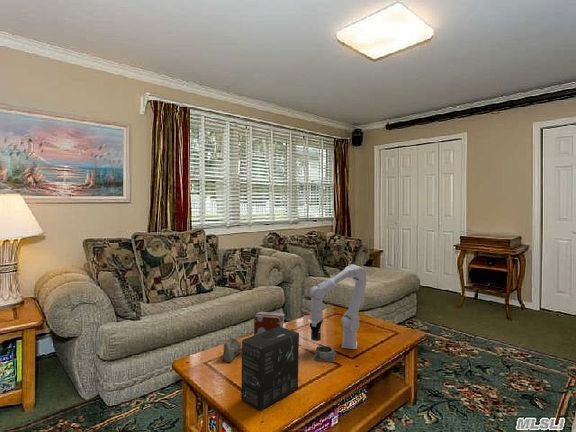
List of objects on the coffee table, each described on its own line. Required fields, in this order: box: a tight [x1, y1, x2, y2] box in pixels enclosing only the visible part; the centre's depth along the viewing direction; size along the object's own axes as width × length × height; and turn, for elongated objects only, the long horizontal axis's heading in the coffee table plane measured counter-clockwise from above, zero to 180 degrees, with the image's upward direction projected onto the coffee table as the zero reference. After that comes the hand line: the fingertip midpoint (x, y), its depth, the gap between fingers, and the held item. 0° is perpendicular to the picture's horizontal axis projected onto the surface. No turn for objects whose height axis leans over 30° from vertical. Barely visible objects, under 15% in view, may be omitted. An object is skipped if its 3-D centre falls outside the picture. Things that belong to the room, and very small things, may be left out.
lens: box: [310, 328, 322, 342], centre depth 183 cm, size 5×5×5 cm
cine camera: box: [253, 311, 288, 336], centre depth 181 cm, size 9×19×20 cm, turn 78°
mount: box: [313, 344, 337, 363], centre depth 176 cm, size 10×10×4 cm
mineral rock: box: [221, 337, 242, 363], centre depth 175 cm, size 13×11×10 cm
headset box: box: [240, 326, 300, 411], centre depth 142 cm, size 22×12×26 cm, turn 139°
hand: (316, 335), depth 183 cm, fingers closed on lens, 5 cm apart
